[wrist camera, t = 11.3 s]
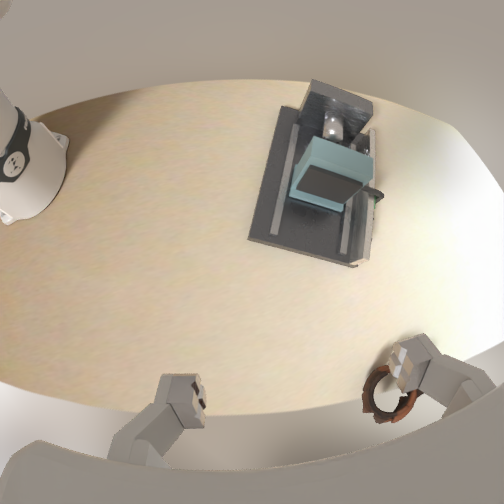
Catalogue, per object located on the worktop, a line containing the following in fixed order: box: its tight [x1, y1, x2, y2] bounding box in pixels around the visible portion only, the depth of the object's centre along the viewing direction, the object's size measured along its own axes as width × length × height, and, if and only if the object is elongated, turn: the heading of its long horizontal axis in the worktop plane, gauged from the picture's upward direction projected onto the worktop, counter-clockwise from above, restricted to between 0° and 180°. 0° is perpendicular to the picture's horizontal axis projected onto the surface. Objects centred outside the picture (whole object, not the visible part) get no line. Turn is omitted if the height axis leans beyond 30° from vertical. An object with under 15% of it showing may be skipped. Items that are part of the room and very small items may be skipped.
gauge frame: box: [248, 79, 376, 268], centre depth 36 cm, size 24×16×10 cm, turn 167°
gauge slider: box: [289, 136, 384, 212], centre depth 34 cm, size 5×13×9 cm, turn 77°
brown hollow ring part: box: [362, 365, 424, 424], centre depth 33 cm, size 12×10×8 cm
